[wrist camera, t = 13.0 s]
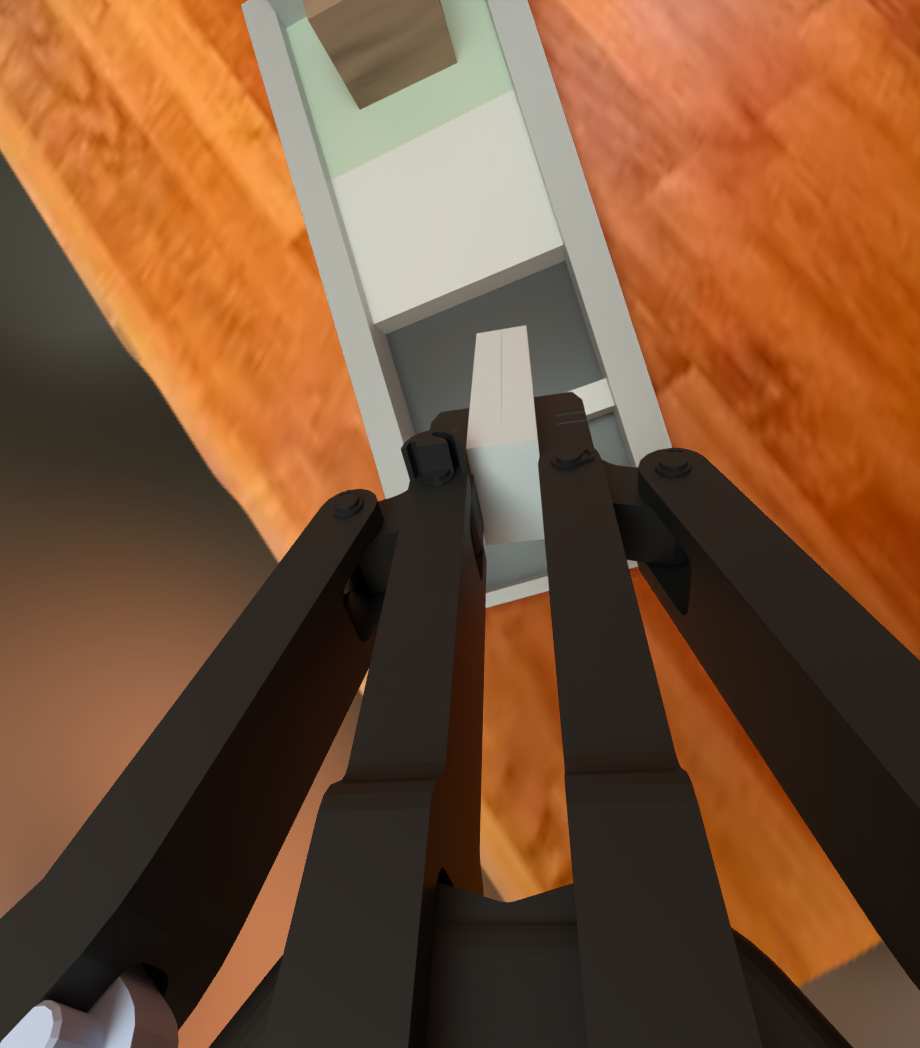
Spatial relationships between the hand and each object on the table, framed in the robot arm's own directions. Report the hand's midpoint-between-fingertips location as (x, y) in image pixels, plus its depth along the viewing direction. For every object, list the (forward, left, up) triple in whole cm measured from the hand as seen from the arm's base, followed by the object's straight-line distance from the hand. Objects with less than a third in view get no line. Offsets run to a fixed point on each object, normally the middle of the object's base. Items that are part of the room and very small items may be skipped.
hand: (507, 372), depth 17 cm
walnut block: (-22, -25, -23) cm, 41 cm away
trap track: (-9, -13, -26) cm, 31 cm away
